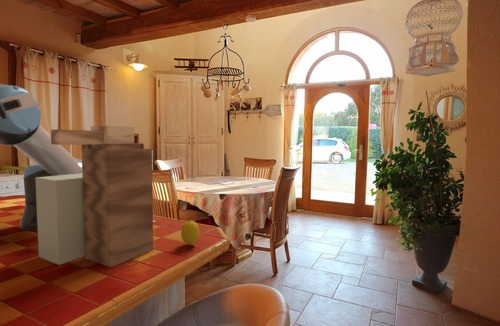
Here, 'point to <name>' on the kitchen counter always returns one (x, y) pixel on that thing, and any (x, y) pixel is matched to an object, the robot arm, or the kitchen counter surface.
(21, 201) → the kitchen counter surface
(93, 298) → the kitchen counter surface
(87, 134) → the mallet
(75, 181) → the sage block
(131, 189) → the walnut stand
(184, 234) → the lemon
